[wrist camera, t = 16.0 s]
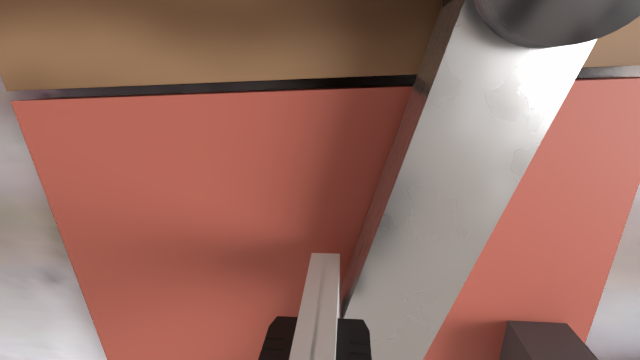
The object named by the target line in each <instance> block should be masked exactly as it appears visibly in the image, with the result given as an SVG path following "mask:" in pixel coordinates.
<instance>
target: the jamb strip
mask: <svg viewBox="0 0 640 360" xmlns="http://www.w3.org/2000/svg"><path fill="white" fill-rule="evenodd" d="M441 7H442V4H441V0H0V74H1V77H2V80H3V82H4V85H5V88H6V90H7V91H18V90H42V89H67V88H91V87H116V86H140V85H165V84H189V83H214V82H238V81H263V80H288V79H312V78H337V77H361V76H386V75H410V74H418V71H419V69H420V66H421V63H422V60H423V57H424V55H425V52H426V49H427V46H428V43H429V41H430V38H431V35H432V32H433V29H434V27H435V24H436V21H437V18H438V16H439V13H440V10H441ZM631 65H640V16H639V17H637V18H636V19H635V20H633V21H632V22H630V23H629V24H627V25H626V26H624V27H622V28H620V29H619V30H617V31H615V32H613V33H611V34H608V35H606V36H604V37H601V38H598V39H597V40H596V42H595V44H594V46H593V48H592V49H591V51H590V53H589V55H588V57H587V59H586V60H585V62H584V64H583V66H582V67H606V66H631Z"/></svg>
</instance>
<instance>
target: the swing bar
mask: <svg viewBox="0 0 640 360" xmlns="http://www.w3.org/2000/svg"><path fill="white" fill-rule="evenodd" d="M441 4H442V7H441V10H440V13H439V16H438V18H437V21H436V24H435V27H434V29H433V32H432V35H431V38H430V41H429V43H428V46H427V49H426V52H425V55H424V57H423V60H422V63H421V66H420V69H419V71H418V74H417V77H416V80H415V83H414V85H413V88H412V91H411V94H410V96H409V99H408V102H407V105H406V108H405V110H404V113H403V116H402V119H401V122H400V124H399V127H398V130H397V133H396V136H395V138H394V141H393V144H392V147H391V150H390V152H389V155H388V158H387V161H386V163H385V166H384V169H383V172H382V175H381V177H380V180H379V183H378V186H377V189H376V191H375V194H374V197H373V200H372V203H371V205H370V208H369V211H368V214H367V216H366V219H365V222H364V225H363V228H362V230H361V233H360V236H359V239H358V242H357V244H356V247H355V250H354V253H353V256H352V258H351V261H350V264H349V267H348V270H347V272H346V275H345V278H344V281H343V283H342V286H341V289H340V318H344V319H363V320H364V322H365V324H366V325H367V327H368V329H369V331H370V345H371V356H372V360H423V359H424V357H425V355H426V353H427V351H428V349H429V347H430V346H431V344H432V342H433V340H434V338H435V336H436V335H437V333H438V331H439V329H440V327H441V325H442V324H443V322H444V320H445V318H446V316H447V314H448V313H449V311H450V309H451V307H452V305H453V303H454V301H455V300H456V298H457V296H458V294H459V292H460V290H461V289H462V287H463V285H464V283H465V281H466V279H467V278H468V276H469V274H470V272H471V270H472V268H473V267H474V265H475V263H476V261H477V259H478V257H479V255H480V254H481V252H482V250H483V248H484V246H485V244H486V243H487V241H488V239H489V237H490V235H491V233H492V232H493V230H494V228H495V226H496V224H497V222H498V221H499V219H500V217H501V215H502V213H503V211H504V209H505V208H506V206H507V204H508V202H509V200H510V198H511V197H512V195H513V193H514V191H515V189H516V187H517V186H518V184H519V182H520V180H521V178H522V176H523V175H524V173H525V171H526V169H527V167H528V165H529V163H530V162H531V160H532V158H533V156H534V154H535V152H536V151H537V149H538V147H539V145H540V143H541V141H542V140H543V138H544V136H545V134H546V132H547V130H548V129H549V127H550V125H551V123H552V121H553V119H554V117H555V116H556V114H557V112H558V110H559V108H560V106H561V105H562V103H563V101H564V99H565V97H566V95H567V94H568V92H569V90H570V88H571V86H572V84H573V83H574V81H575V79H576V77H577V75H578V73H579V71H580V70H581V68H582V66H583V64H584V62H585V60H586V59H587V57H588V55H589V53H590V51H591V49H592V48H593V46H594V44H595V42H596V40H597V39H598V38H601V37H604V36H606V35H608V34H611V33H613V32H615V31H617V30H619V29H620V28H622V27H624V26H626V25H627V24H629V23H630V22H632V21H633V20H635V19H636V18H637V17H639V16H640V0H441Z"/></svg>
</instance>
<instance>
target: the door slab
mask: <svg viewBox="0 0 640 360" xmlns="http://www.w3.org/2000/svg"><path fill="white" fill-rule="evenodd" d="M413 85H414V84H412V85H385V86H358V87H331V88H304V89H277V90H249V91H222V92H195V93H168V94H141V95H114V96H87V97H60V98H45V99H32V100H19V101H11V104H12V106H13V109H14V112H15V114H16V117H17V120H18V122H19V125H20V128H21V130H22V133H23V136H24V138H25V141H26V144H27V146H28V149H29V152H30V154H31V157H32V160H33V162H34V165H35V168H36V170H37V173H38V176H39V178H40V181H41V184H42V186H43V189H44V192H45V194H46V197H47V200H48V202H49V205H50V208H51V210H52V213H53V216H54V218H55V221H56V224H57V226H58V229H59V232H60V234H61V237H62V240H63V242H64V245H65V248H66V250H67V253H68V256H69V258H70V261H71V264H72V266H73V269H74V272H75V275H76V277H77V280H78V283H79V285H80V288H81V291H82V293H83V296H84V299H85V301H86V304H87V307H88V309H89V312H90V315H91V317H92V320H93V323H94V325H95V328H96V331H97V333H98V336H99V339H100V341H101V344H102V347H103V349H104V352H105V355H106V357H107V360H258V358H259V355H260V352H261V350H262V346H263V343H264V340H265V337H266V334H267V330H268V327H269V325H270V324H271V323H272V322H273V321H274V319H275V318H276V317H277V316H287V317H298V315H299V310H300V305H301V301H302V296H303V291H304V287H305V282H306V277H307V273H308V268H309V263H310V259H311V254H312V253H333V254H340V289H341V286H342V283H343V281H344V278H345V275H346V272H347V270H348V267H349V264H350V261H351V258H352V256H353V253H354V250H355V247H356V244H357V242H358V239H359V236H360V233H361V230H362V228H363V225H364V222H365V219H366V216H367V214H368V211H369V208H370V205H371V203H372V200H373V197H374V194H375V191H376V189H377V186H378V183H379V180H380V177H381V175H382V172H383V169H384V166H385V163H386V161H387V158H388V155H389V152H390V150H391V147H392V144H393V141H394V138H395V136H396V133H397V130H398V127H399V124H400V122H401V119H402V116H403V113H404V110H405V108H406V105H407V102H408V99H409V96H410V94H411V91H412V88H413ZM639 183H640V77H601V78H576V79H575V81H574V83H573V84H572V86H571V88H570V90H569V92H568V94H567V95H566V97H565V99H564V101H563V103H562V105H561V106H560V108H559V110H558V112H557V114H556V116H555V117H554V119H553V121H552V123H551V125H550V127H549V129H548V130H547V132H546V134H545V136H544V138H543V140H542V141H541V143H540V145H539V147H538V149H537V151H536V152H535V154H534V156H533V158H532V160H531V162H530V163H529V165H528V167H527V169H526V171H525V173H524V175H523V176H522V178H521V180H520V182H519V184H518V186H517V187H516V189H515V191H514V193H513V195H512V197H511V198H510V200H509V202H508V204H507V206H506V208H505V209H504V211H503V213H502V215H501V217H500V219H499V221H498V222H497V224H496V226H495V228H494V230H493V232H492V233H491V235H490V237H489V239H488V241H487V243H486V244H485V246H484V248H483V250H482V252H481V254H480V255H479V257H478V259H477V261H476V263H475V265H474V267H473V268H472V270H471V272H470V274H469V276H468V278H467V279H466V281H465V283H464V285H463V287H462V289H461V290H460V292H459V294H458V296H457V298H456V300H455V301H454V303H453V305H452V307H451V309H450V311H449V313H448V314H447V316H446V318H445V320H444V322H443V324H442V325H441V327H440V329H439V331H438V333H437V335H436V336H435V338H434V340H433V342H432V344H431V346H430V347H429V349H428V351H427V353H426V355H425V357H424V359H423V360H598V359H597V358H596V356H595V355H594V354H593V353H592V352H591V351H590V349H589V348H588V347H587V346H586V345H585V342H586V339H587V336H588V333H589V330H590V327H591V324H592V321H593V318H594V315H595V312H596V310H597V307H598V304H599V301H600V298H601V295H602V292H603V289H604V286H605V283H606V280H607V277H608V274H609V271H610V268H611V265H612V262H613V259H614V257H615V254H616V251H617V248H618V245H619V242H620V239H621V236H622V233H623V230H624V227H625V224H626V221H627V218H628V215H629V212H630V209H631V207H632V204H633V201H634V198H635V195H636V192H637V189H638V186H639Z"/></svg>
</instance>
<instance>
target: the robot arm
mask: <svg viewBox="0 0 640 360" xmlns="http://www.w3.org/2000/svg"><path fill="white" fill-rule="evenodd" d="M258 360H372V356H371V345H370V331H369V329H368V327H367V325H366V324H365V322H364V320H363V319H344V318H340V254H333V253H312V254H311V259H310V263H309V268H308V273H307V277H306V282H305V287H304V291H303V296H302V301H301V305H300V310H299V315H298V317H287V316H277V317H276V318H275V319H274V321H273V322H272V323H271V324H270V325H269V327H268V330H267V334H266V337H265V340H264V343H263V346H262V350H261V352H260V355H259V358H258Z"/></svg>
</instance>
